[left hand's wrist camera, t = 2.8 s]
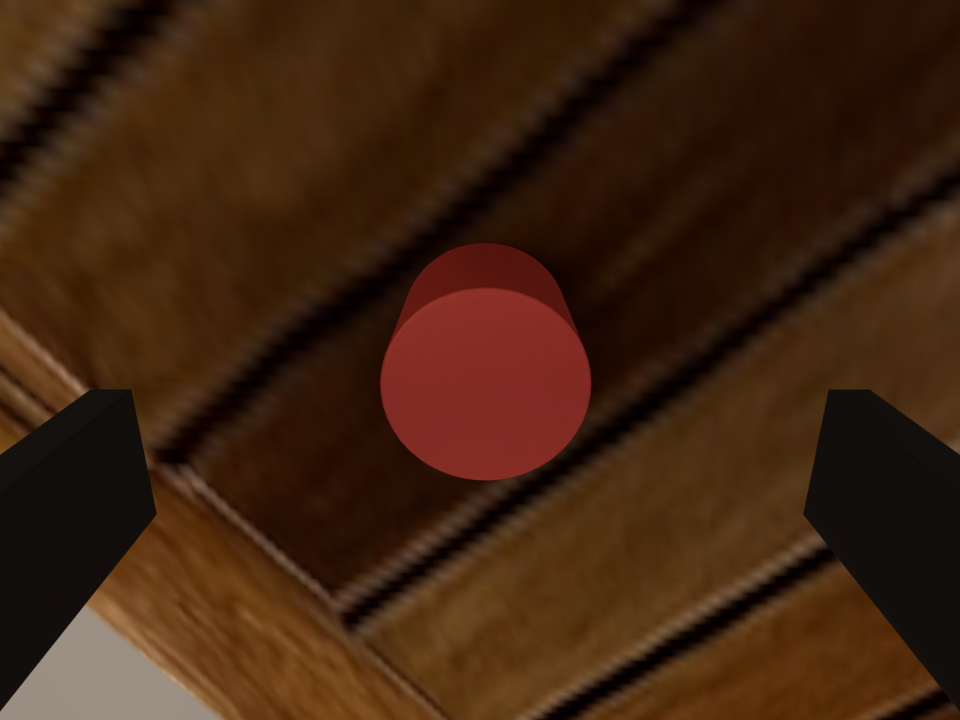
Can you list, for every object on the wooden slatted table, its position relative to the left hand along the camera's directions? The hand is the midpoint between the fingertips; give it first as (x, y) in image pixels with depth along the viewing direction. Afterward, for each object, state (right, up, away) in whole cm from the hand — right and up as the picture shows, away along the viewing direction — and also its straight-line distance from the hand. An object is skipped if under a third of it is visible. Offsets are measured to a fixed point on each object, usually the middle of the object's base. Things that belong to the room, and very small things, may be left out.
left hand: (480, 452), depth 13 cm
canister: (0, +3, +6) cm, 7 cm away
